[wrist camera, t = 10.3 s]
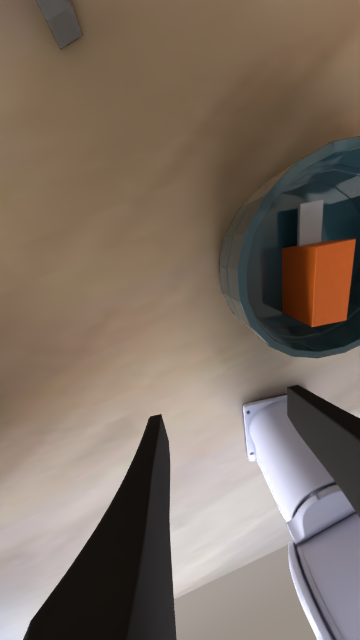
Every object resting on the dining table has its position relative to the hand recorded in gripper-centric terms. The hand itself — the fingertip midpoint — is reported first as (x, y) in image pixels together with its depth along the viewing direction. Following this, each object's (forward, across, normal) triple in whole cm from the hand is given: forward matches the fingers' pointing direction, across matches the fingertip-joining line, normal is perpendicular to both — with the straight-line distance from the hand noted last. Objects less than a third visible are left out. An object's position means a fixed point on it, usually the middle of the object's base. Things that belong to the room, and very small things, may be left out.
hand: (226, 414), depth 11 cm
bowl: (+9, -10, -6) cm, 15 cm away
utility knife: (+9, -10, -6) cm, 15 cm away
